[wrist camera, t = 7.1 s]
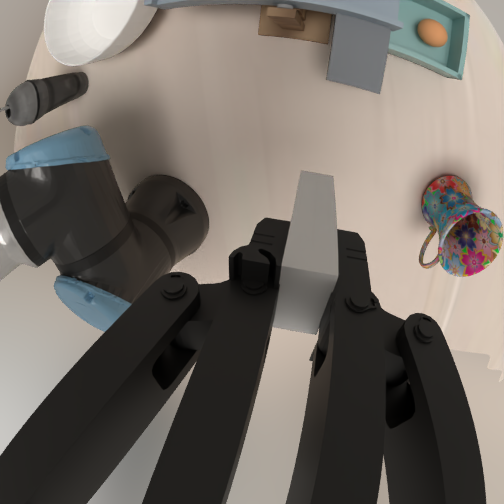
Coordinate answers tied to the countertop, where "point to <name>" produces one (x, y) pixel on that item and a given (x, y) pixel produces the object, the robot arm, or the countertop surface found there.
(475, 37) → the countertop surface
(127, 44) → the bowl
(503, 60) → the countertop surface
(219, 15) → the countertop surface
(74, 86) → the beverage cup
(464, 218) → the mug
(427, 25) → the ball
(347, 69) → the blue-grey ramp
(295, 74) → the countertop surface
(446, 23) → the tray
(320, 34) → the fulcrum
